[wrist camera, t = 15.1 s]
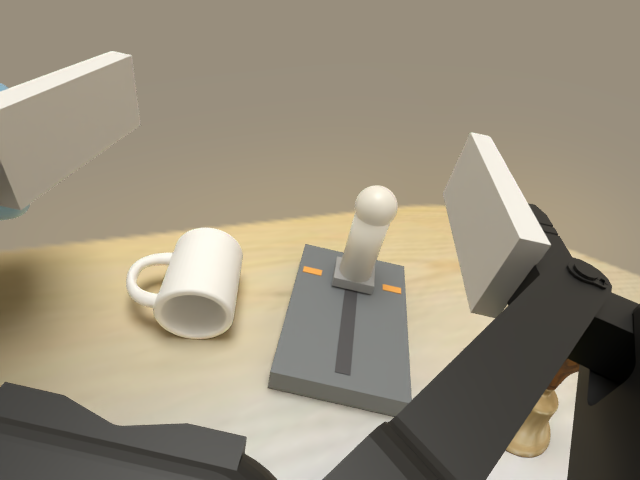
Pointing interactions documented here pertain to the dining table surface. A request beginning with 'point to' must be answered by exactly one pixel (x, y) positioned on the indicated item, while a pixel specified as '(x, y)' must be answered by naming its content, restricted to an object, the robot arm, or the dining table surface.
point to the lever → (365, 239)
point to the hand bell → (540, 418)
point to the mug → (193, 284)
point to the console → (345, 338)
